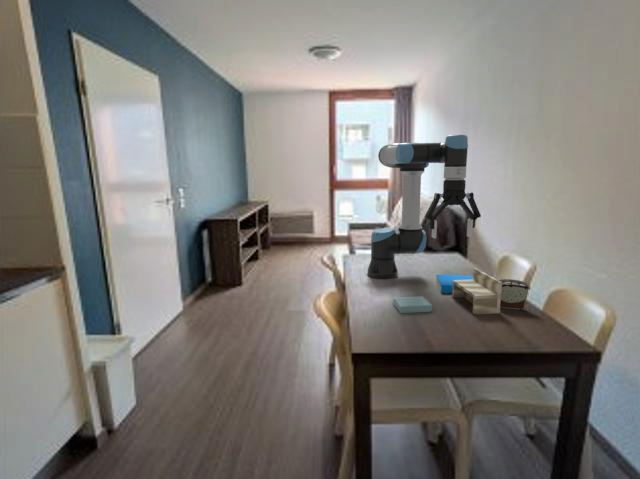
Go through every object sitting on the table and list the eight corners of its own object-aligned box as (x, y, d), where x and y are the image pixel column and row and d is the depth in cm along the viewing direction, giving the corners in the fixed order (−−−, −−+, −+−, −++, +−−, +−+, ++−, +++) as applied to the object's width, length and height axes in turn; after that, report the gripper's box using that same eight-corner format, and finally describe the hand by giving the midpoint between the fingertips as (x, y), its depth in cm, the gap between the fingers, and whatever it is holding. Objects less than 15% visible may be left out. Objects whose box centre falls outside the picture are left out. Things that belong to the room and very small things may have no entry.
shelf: (452, 296, 161) (453, 269, 158) (474, 295, 161) (476, 268, 159) (474, 314, 141) (476, 283, 139) (499, 313, 142) (502, 282, 140)
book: (435, 274, 181) (492, 275, 177) (435, 283, 182) (491, 284, 178) (441, 285, 165) (503, 286, 160) (440, 295, 165) (502, 296, 161)
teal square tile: (393, 304, 154) (393, 297, 153) (422, 303, 155) (422, 296, 154) (400, 314, 144) (400, 306, 143) (431, 312, 145) (431, 305, 144)
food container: (525, 304, 150) (527, 280, 148) (528, 310, 145) (530, 284, 143) (491, 301, 154) (493, 277, 152) (492, 306, 149) (494, 282, 147)
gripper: (424, 180, 133) (422, 240, 137) (493, 179, 135) (489, 238, 139) (417, 179, 141) (415, 236, 145) (482, 178, 143) (478, 234, 147)
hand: (451, 237), depth 142 cm, fingers open, 13 cm apart
